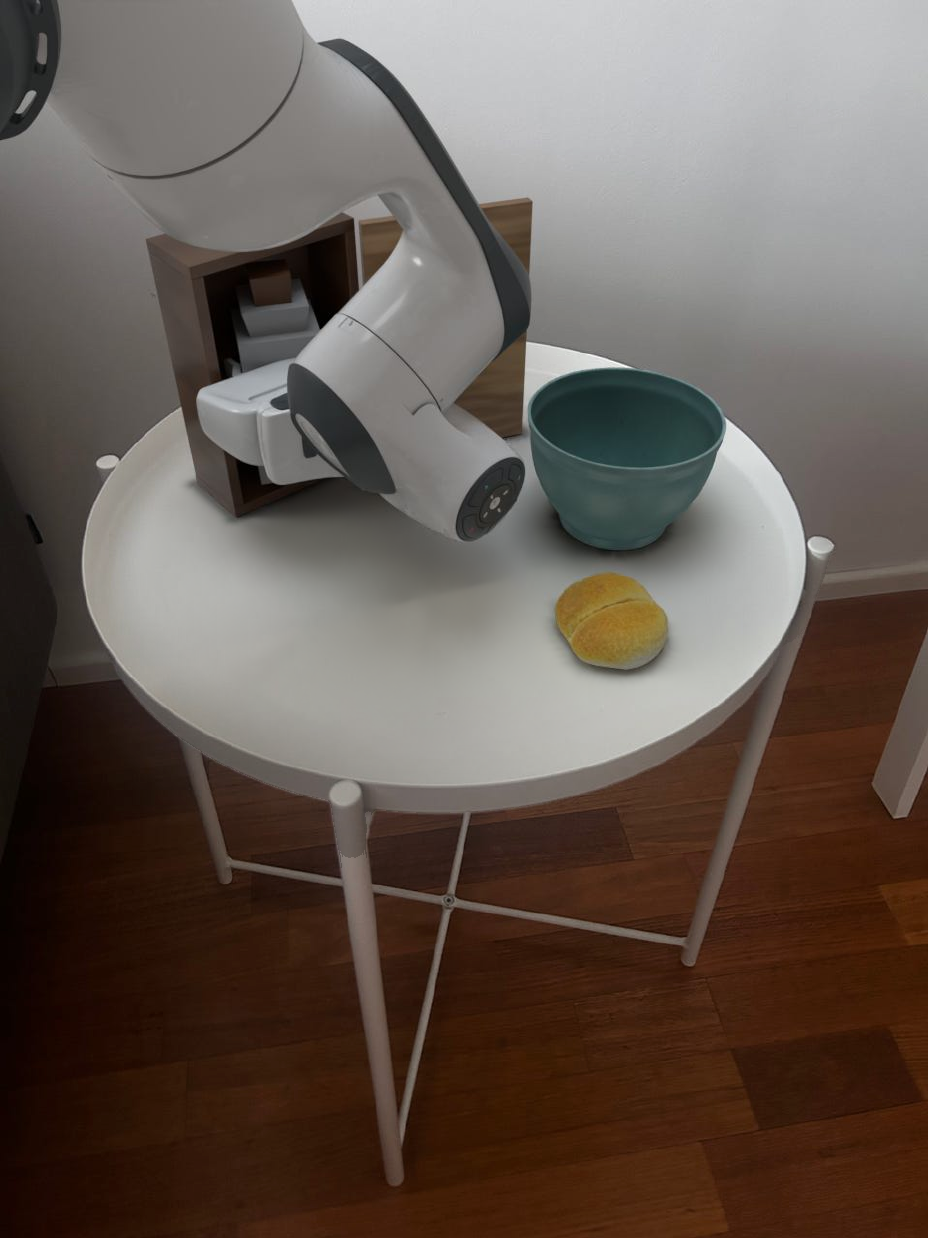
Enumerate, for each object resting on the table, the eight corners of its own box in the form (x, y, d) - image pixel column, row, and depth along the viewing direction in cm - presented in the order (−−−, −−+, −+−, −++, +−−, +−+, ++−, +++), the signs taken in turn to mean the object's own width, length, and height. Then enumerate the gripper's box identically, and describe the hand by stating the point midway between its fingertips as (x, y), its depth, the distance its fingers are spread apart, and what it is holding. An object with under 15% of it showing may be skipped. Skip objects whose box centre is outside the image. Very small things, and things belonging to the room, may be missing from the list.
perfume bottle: (336, 473, 91) (315, 281, 79) (261, 484, 90) (229, 291, 78) (324, 434, 96) (303, 247, 84) (253, 444, 95) (221, 256, 83)
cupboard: (371, 457, 97) (354, 217, 82) (236, 517, 90) (189, 266, 75) (330, 428, 101) (306, 193, 86) (197, 483, 94) (145, 238, 79)
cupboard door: (359, 430, 101) (341, 198, 85) (499, 403, 105) (505, 177, 89) (377, 462, 96) (361, 224, 81) (522, 433, 100) (532, 200, 85)
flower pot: (625, 451, 98) (638, 348, 91) (743, 536, 88) (769, 429, 81) (487, 503, 92) (489, 397, 84) (598, 602, 82) (611, 492, 74)
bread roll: (590, 686, 75) (595, 647, 72) (541, 611, 81) (543, 572, 78) (688, 658, 77) (696, 620, 74) (632, 587, 83) (638, 549, 80)
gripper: (464, 337, 82) (366, 283, 90) (246, 421, 73) (157, 352, 81) (465, 405, 87) (370, 348, 95) (258, 494, 77) (173, 421, 85)
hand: (271, 350), depth 88 cm, fingers closed on perfume bottle, 6 cm apart
